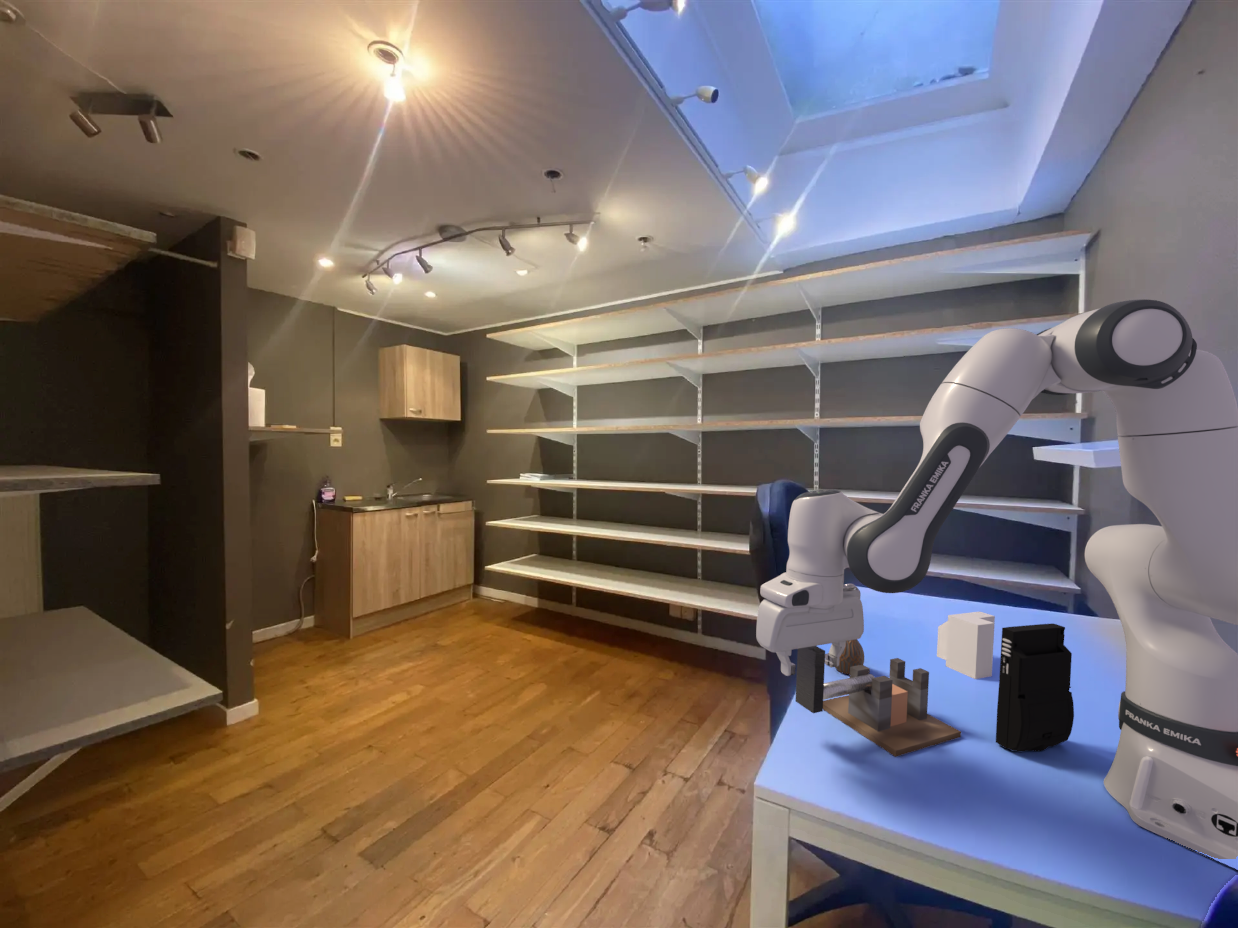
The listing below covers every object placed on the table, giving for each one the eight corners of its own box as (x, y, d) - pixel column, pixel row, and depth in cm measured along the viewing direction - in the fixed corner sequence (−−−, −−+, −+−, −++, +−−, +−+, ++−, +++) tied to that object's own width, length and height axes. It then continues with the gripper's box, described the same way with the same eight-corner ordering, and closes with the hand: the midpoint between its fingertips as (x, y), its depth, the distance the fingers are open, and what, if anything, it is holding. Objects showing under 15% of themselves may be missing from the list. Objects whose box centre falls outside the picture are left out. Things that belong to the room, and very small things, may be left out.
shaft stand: (960, 737, 83) (963, 682, 83) (895, 756, 77) (898, 698, 77) (879, 693, 98) (881, 646, 98) (819, 706, 92) (821, 657, 92)
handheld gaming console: (1044, 734, 85) (1050, 622, 84) (1074, 750, 80) (1081, 631, 80) (991, 743, 82) (997, 626, 81) (1020, 760, 77) (1026, 636, 77)
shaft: (880, 697, 84) (883, 640, 84) (813, 713, 78) (815, 652, 78) (861, 687, 88) (863, 632, 87) (795, 701, 82) (797, 642, 81)
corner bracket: (975, 679, 106) (977, 625, 105) (926, 657, 116) (929, 608, 116) (1007, 673, 109) (1010, 620, 109) (957, 653, 120) (960, 605, 120)
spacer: (906, 722, 86) (907, 691, 85) (890, 726, 84) (892, 695, 84) (879, 706, 91) (880, 677, 90) (864, 710, 89) (865, 681, 89)
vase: (831, 674, 106) (833, 635, 105) (827, 662, 112) (829, 624, 112) (866, 680, 104) (868, 639, 103) (860, 666, 110) (862, 628, 110)
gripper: (845, 577, 87) (841, 653, 87) (752, 586, 79) (748, 670, 79) (875, 587, 81) (871, 668, 81) (778, 598, 73) (774, 687, 73)
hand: (810, 669), depth 80 cm, fingers open, 8 cm apart
